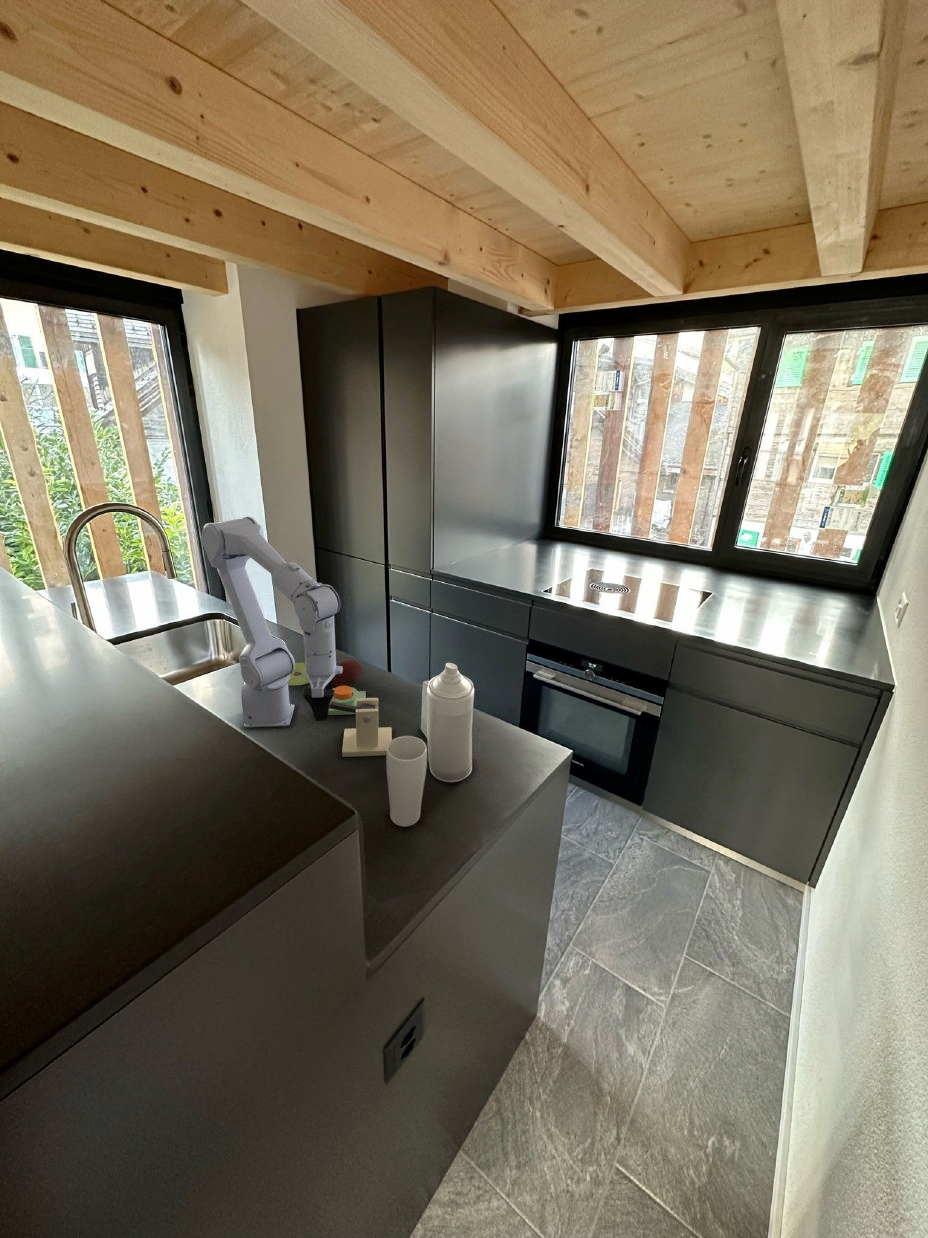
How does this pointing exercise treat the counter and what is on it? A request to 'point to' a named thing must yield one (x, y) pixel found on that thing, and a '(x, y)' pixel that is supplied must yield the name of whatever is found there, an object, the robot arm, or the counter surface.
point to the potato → (348, 673)
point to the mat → (298, 675)
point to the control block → (347, 702)
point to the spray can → (450, 724)
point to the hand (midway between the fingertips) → (323, 708)
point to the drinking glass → (406, 778)
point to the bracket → (366, 733)
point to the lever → (349, 707)
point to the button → (343, 692)
